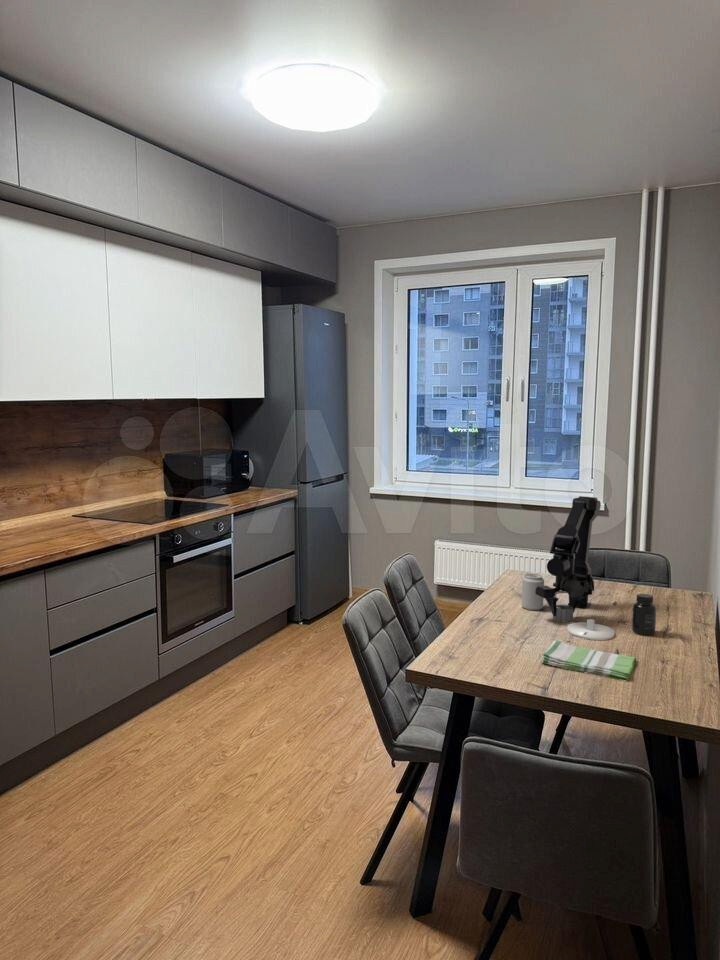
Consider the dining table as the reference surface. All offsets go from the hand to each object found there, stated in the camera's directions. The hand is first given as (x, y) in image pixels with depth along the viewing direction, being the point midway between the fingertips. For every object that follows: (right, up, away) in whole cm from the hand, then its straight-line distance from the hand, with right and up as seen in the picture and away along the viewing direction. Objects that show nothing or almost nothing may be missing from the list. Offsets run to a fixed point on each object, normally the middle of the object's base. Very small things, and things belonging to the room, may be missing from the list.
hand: (562, 615), depth 220 cm
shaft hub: (+5, -3, -14) cm, 14 cm away
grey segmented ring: (0, -1, 0) cm, 1 cm away
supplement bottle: (+22, -3, -13) cm, 25 cm away
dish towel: (-5, -6, -38) cm, 39 cm away
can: (-7, 0, +12) cm, 14 cm away
